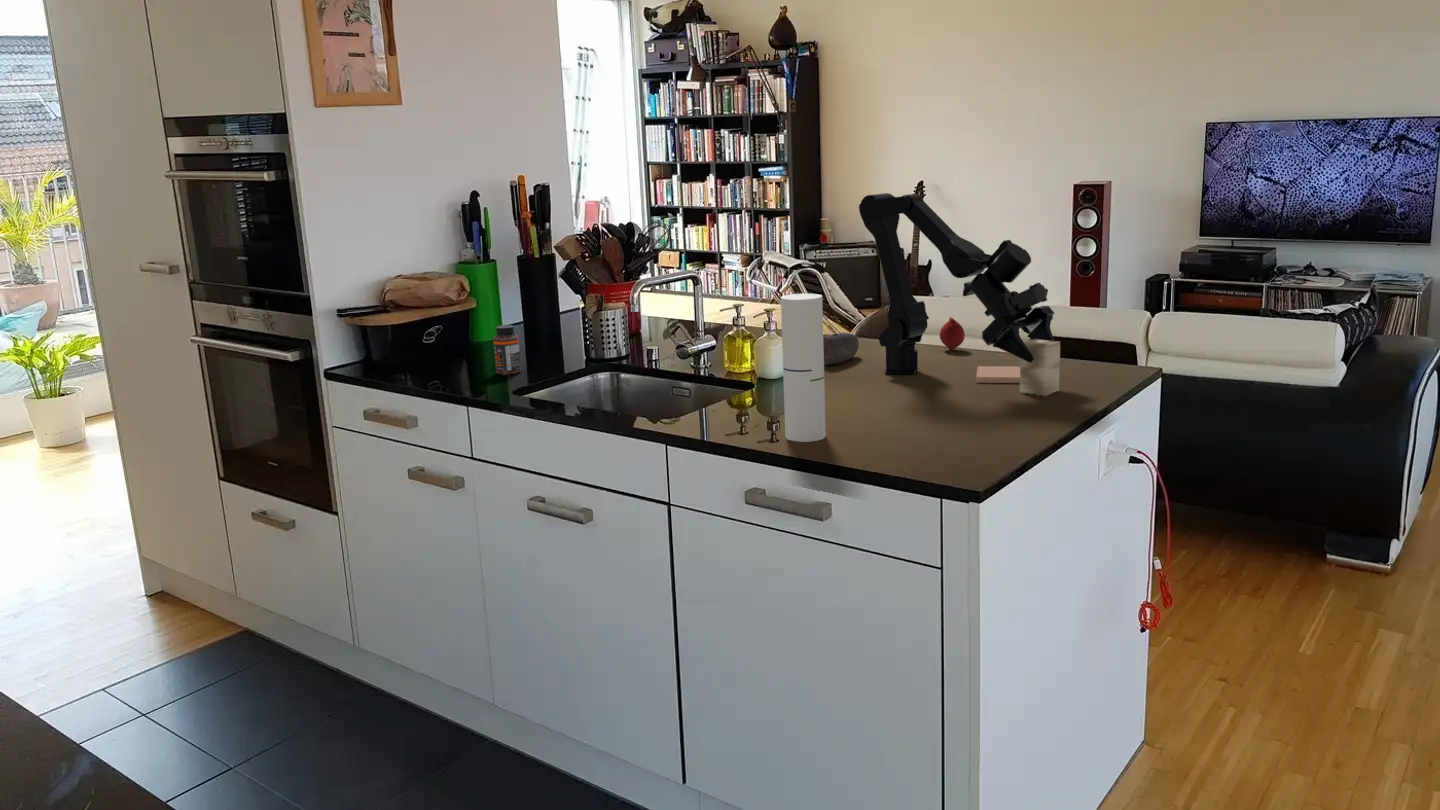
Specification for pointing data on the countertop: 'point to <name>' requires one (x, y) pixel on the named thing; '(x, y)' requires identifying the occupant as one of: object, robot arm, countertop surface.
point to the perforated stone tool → (839, 347)
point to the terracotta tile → (998, 374)
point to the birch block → (1041, 368)
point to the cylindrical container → (803, 367)
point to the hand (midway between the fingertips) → (1044, 357)
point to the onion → (952, 334)
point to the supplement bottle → (506, 351)
